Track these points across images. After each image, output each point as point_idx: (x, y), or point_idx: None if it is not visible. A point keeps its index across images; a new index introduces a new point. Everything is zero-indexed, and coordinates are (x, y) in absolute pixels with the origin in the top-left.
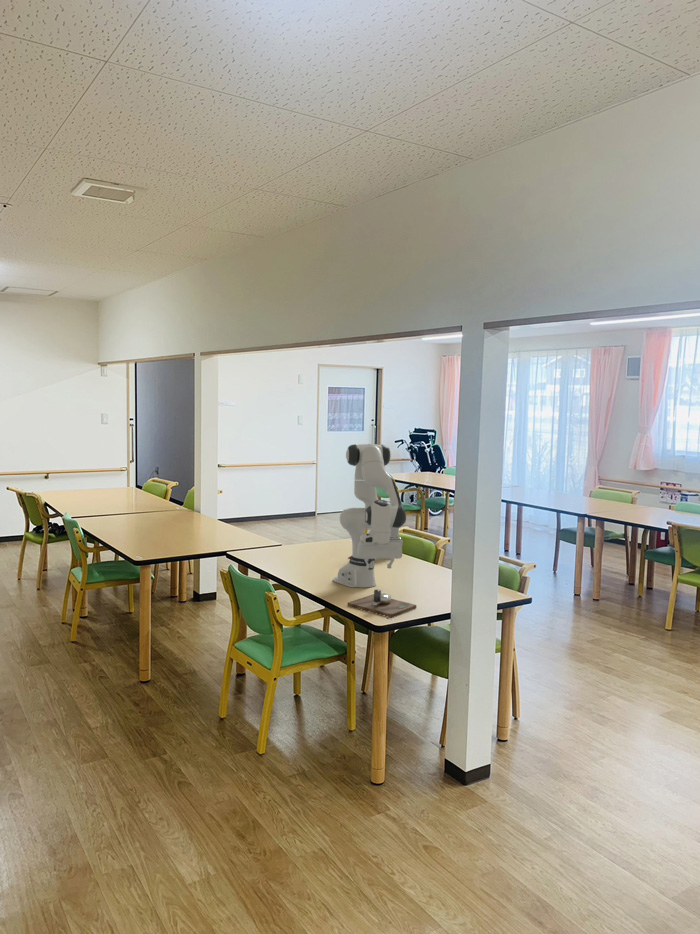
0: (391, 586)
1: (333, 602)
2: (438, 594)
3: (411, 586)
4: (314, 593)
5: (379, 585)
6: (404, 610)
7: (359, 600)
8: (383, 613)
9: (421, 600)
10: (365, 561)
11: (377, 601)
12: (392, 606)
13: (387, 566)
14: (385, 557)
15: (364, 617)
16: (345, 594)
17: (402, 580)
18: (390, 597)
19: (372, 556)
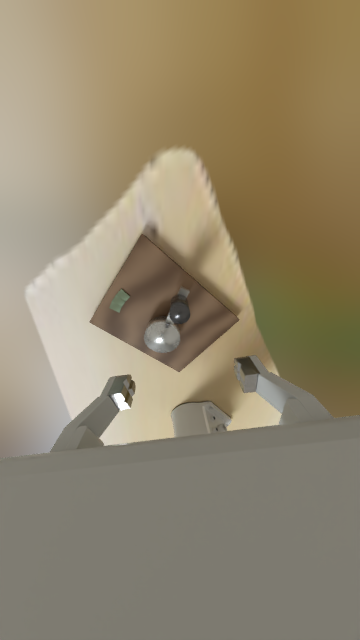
0: (148, 411)
1: (258, 334)
2: (70, 391)
3: (118, 414)
4: (275, 373)
5: (166, 412)
6: (112, 284)
7: (211, 336)
8: (164, 253)
9: (92, 362)
10: (302, 395)
11: (178, 294)
12: (142, 305)
13: (131, 389)
14: (122, 457)
15: (214, 231)
16: (224, 374)
17: (133, 430)
18: (145, 332)
19: (288, 456)
